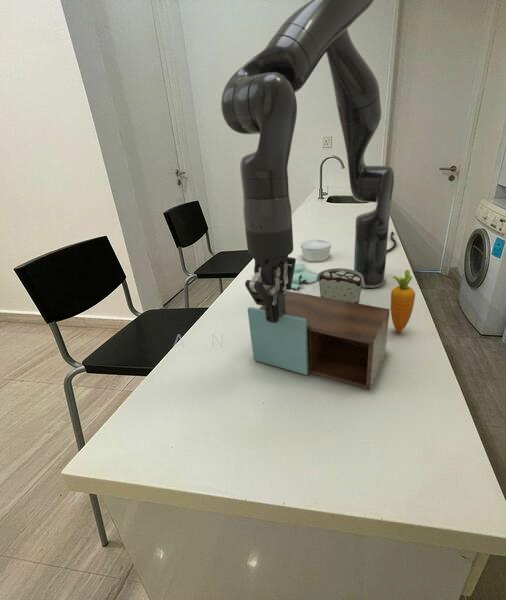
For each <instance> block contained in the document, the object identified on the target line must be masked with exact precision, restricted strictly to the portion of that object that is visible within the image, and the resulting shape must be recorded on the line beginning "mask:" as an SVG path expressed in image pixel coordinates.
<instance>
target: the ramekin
mask: <svg viewBox="0 0 506 600" xmlns="http://www.w3.org/2000/svg"><path fill="white" fill-rule="evenodd" d="M299 247H300V249H301V254H302V257H303V259H304V260H306V261H308V262H313V263H314V262H317V263H318V262H323V261H326V260H327V259H328V258H329V257H330V253H331V249H332V243H331V242H329V240H328V241H327V240H323V239H310V240H304V241H303V242H301V243H300V246H299Z"/></svg>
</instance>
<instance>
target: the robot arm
mask: <svg viewBox="0 0 506 600" xmlns="http://www.w3.org/2000/svg"><path fill="white" fill-rule="evenodd" d="M374 2H375V0H310V1H308V2H306V3H305V4H303V5H302V6H301V7H300V8H298V9H297V10H296V11H295V12H293V13H292V14H291V15H290V16H289V17H288V18H287V19H285V21H284V22H283V23H282V24H281V25H280V27H279V28H278V29H277V31H276V32H275V34H274V35H273V36H272V38H270V40H269V42H268V43H267V45H266V46H265V48H263V50H261V51H260V52H259V53H258V54H256V55H255V56H253V57H252V58H251V59H250V60H248V61H247V62H246V63H245V64H244V65H243V66H241V67H240V68H239V69H238V70H237V71H235V73H233V75H231V77H230V78H229V79H228V81H227V82H226V84H225V85H224V88H223V90H222V94H221V100H220V111H221V115H222V117H223V120H224V122H225V123H226V125H227V126H228V127H229V128H230V129H231V130H232V131H234V132H236V133H237V134H241V135H259V139H258V144H257V148H256V150H255V151H254V152H250V153H247V154H245V155H244V156H243V157H242V158H240V164H239V170H240V180H241V188H242V194H243V195H242V197H243V207H242V208H243V209H242V210H243V211H242V212H243V221H244V231H245V239H246V247H247V253H248V255H249V256H250V257H252V259H253V260H254V268H253V273H254V275H253V277H252V279H247V280H245V283H244V285H245V288H246V289H247V291H248V293H249V294H250V296H251V298H252V300H253V301H254V303H255V304H256V305H258V306H261V307H262V306H265V313H266V320H267V321H268V322H271V323H277V322H278V321H279V316H278V304H277V292H282V293H284V295H285V297H286V295H287V291H290V290H291V289H292V288H291V285H292V280H293V274H294V268H295V264H297V261H296V260H297V258H295V257H292V256H289V255H291V254H293V251H294V236H293V235H294V234H293V233H294V231H293V213H292V204H291V200H290V188H289V187H290V186H289V171H288V169H289V168H288V166H289V161H290V160H289V159H290V155H291V150H292V144H293V138H294V133H295V128H296V124H297V123H296V122H297V115H298V102H297V97H296V93H297V92H299V91H300V90H301V89H302V88H303V87H304V85H305V84H306V83H307V81H308V80H309V78H310V77H311V75H312V74H313V72H314V71H315V68H316V67H317V66H318V64H319V62H320V61H321V60H322V58H323V57H324V56H325V54H326V58H327V62H328V66H329V71H330V76H331V80H332V84H333V91H334V96H335V103H336V109H337V114H338V119H339V123H340V127H341V132H342V137H343V141H344V146H345V147H344V148H345V152H346V159H347V169H348V177H349V186H350V191H351V195H352V197H353V199H354V200H355V201H357V202H361V203H376V205H375V206H376V207H375V208H374V209H373V210H371V211H368V212H364V213H361V214H358V215H357V216H356V217H355V228H354V252H353V253H354V256H353V257H354V258H353V270H355V271H357V272H359V273H360V274H361V275H362V276H363V279H364V284H365V286H364V288H363V284H362V288H363V289H377V288H380V287H383V286H384V285H385V275H386V262H387V253H389V252H391V251H392V250H393V249H395V248H396V246H397V241H396V239H394V237H393V235H394V231H391V233H390V239H391V240H392V241H393V246H391V247H390V248H388V239H389V238H388V237H389V229H390V228H389V225H390V217H391V210H392V202H393V201H392V199H393V192H394V187H395V172H394V169H393V168H392V167H391V166H389V165H366V163H365V153H366V151H367V148H368V146H369V144H370V143H371V140H373V139H372V138H373V137H374V135H375V134H376V131H377V130H378V127H379V125H380V122H381V119H382V106H381V104H382V103H381V94H380V93H381V92H380V86H379V81H378V80H377V79H378V78H377V77H376V75H375V73H374V72H373V70H372V68H371V67H370V66H369V65H368V63H367V62H366V60H365V59H364V57H363V56H362V55H361V53H360V52H359V51H358V48H356V46H355V44H354V43H353V40H352V37H351V36H350V33H349V30H348V28H349V27H350V26H352V25H353V24H354V23H355V21H356V20H358V19H359V17H361V16H362V15H363V14H364V13H365V12H366V11H367V10H368V9H369V8H370V7H371V6H372V5H373V3H374ZM268 293H271V298H270V297H269V295H268ZM285 310H286V308H285ZM285 314H286V313H285Z"/></svg>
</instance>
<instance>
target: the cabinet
mask: <svg viewBox="0 0 506 600" xmlns="http://www.w3.org/2000/svg"><path fill="white" fill-rule="evenodd" d="M285 308H286V315H291V316H296V317H301V318H305V319H307V343H308V371H309V373H308V374H311V375H315V376H318V377H322V378H325V379H329V380H332V381H336V382H339V383H343V384H348V385H349V386H354V387H357V388H361V389H364V390H368V391H371V389H372V386H373V385H374V382H375V380H376V377H377V374H378V372H379V369H380V367H381V365H382V363H383V360H384V359H385V356H386V352H387V342H388V341H387V340H388V329H389V319H390V311H391V308H386V307H381V306H375V305H374V306H373V305H370V304H369V305H368V304H362V303H359V304H358V303H352V302H347V301H341V300H335V299H330V298H324V297H321V296H318V295H312V294H306V293H301V292H296V291H295V292H294V291H290V290H287V295H286V297H285ZM258 309H262V310H265V306H262V305H261V306H260V307H259V308H258Z"/></svg>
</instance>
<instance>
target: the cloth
mask: <svg viewBox="0 0 506 600" xmlns="http://www.w3.org/2000/svg"><path fill="white" fill-rule="evenodd" d="M317 276H318V274H316V273H312V272H310V271H308V270H307V269H306V268H305V267H304V265H302V264H300V263H295V268H294V274H293V280H292V285H291V289H295V290H297V289H298V288H299V289H300V288H301V286H300V284H312V283H316V282H319V280H317ZM316 280H317V281H316Z"/></svg>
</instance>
